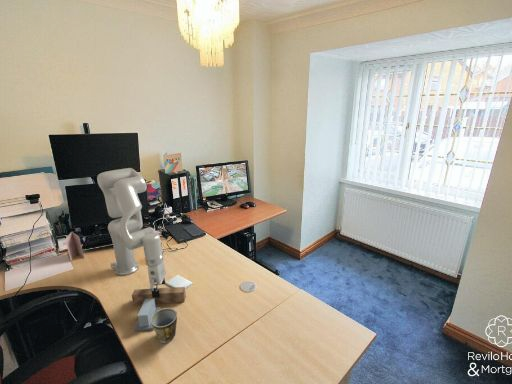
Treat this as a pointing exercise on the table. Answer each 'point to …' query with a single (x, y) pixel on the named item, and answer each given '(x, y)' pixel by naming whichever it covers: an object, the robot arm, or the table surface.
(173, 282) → the hard drive
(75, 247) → the greeting card
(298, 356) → the table surface
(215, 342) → the table surface
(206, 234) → the table surface
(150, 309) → the ridge block
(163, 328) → the ceramic cup
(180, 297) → the walnut batten
